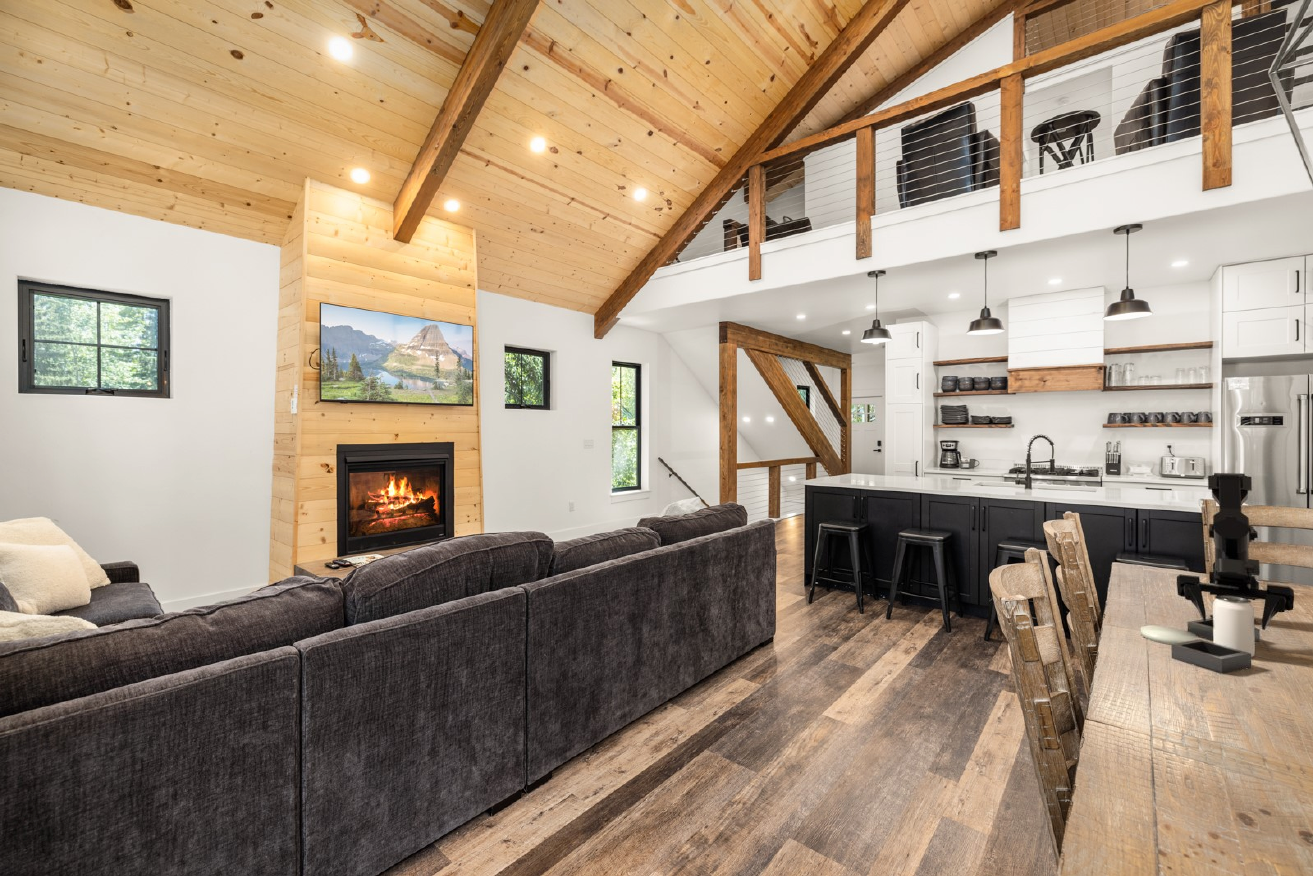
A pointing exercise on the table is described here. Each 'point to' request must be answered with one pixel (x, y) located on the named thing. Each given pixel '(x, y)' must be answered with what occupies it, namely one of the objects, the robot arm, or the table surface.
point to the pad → (1166, 634)
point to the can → (1234, 623)
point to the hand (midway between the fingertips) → (1233, 624)
